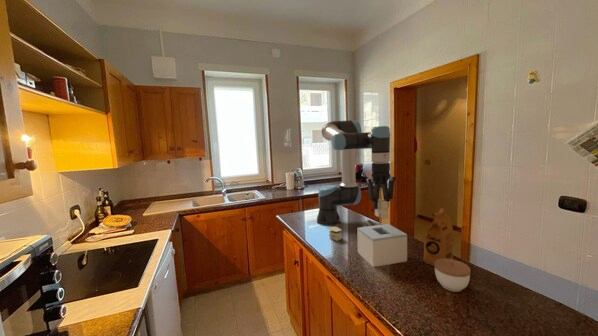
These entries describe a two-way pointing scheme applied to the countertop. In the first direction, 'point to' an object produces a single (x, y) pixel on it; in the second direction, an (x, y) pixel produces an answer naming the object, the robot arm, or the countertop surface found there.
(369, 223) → the fossil
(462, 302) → the countertop surface
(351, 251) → the countertop surface
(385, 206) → the tan rectangular block
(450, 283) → the lidded jar
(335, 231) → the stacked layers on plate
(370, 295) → the countertop surface
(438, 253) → the coffee package
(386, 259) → the slot box
